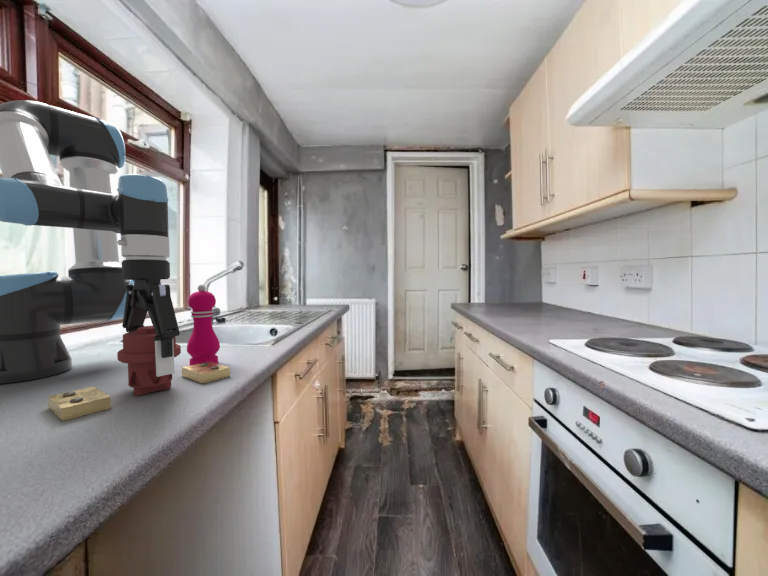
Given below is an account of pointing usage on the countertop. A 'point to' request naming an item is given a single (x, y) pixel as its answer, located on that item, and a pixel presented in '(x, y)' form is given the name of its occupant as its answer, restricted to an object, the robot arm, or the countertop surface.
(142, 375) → the mechanical component
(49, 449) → the countertop surface
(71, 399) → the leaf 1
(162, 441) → the countertop surface
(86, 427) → the countertop surface
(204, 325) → the pepper mill
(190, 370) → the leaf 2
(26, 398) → the countertop surface
